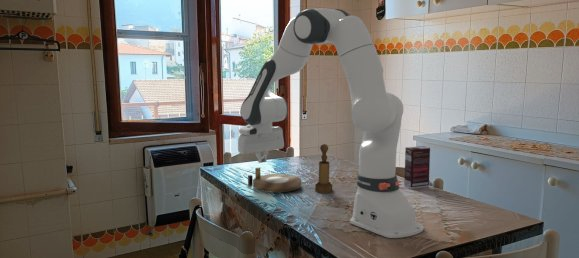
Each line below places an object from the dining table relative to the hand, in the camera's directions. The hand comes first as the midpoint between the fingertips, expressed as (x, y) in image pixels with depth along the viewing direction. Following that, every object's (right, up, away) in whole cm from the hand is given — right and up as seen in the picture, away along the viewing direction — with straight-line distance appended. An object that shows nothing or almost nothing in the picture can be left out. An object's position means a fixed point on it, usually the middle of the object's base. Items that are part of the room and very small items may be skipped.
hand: (262, 162), depth 166 cm
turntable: (+6, -10, -4) cm, 12 cm away
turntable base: (+4, -10, -3) cm, 11 cm away
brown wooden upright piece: (+24, -10, -8) cm, 27 cm away
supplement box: (+61, -10, -3) cm, 62 cm away
